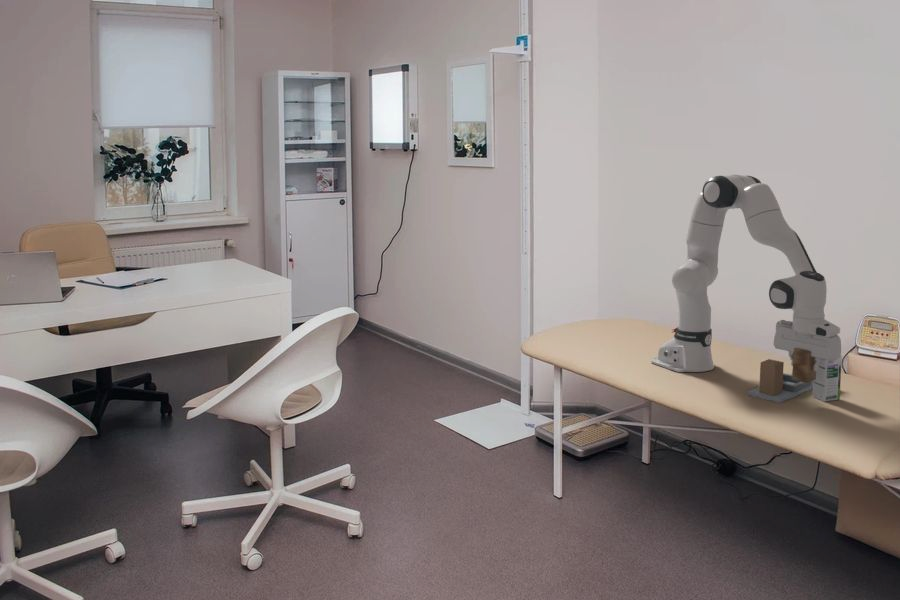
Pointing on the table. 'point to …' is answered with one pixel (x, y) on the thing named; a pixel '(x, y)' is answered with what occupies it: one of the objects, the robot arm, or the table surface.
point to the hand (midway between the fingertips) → (804, 368)
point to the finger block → (803, 366)
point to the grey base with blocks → (777, 383)
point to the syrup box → (828, 380)
